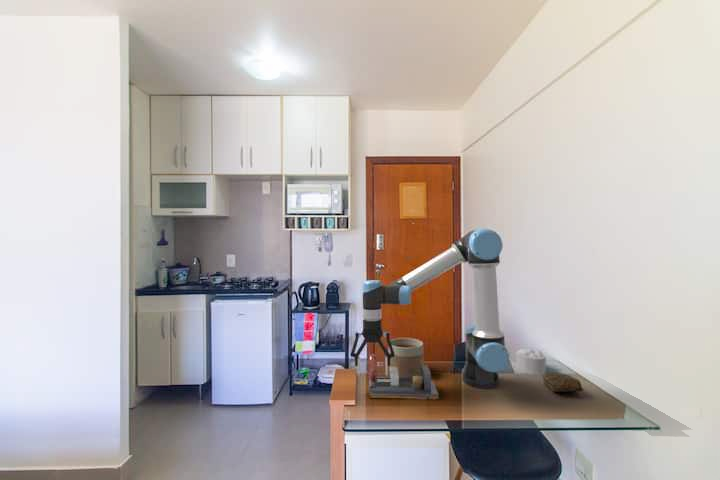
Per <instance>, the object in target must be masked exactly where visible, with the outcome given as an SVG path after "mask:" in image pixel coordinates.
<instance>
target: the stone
mask: <svg viewBox="0 0 720 480" xmlns="http://www.w3.org/2000/svg"><path fill="white" fill-rule="evenodd" d="M541 376H542V379H543V383H544V384H545V386H547V387H548V389H551V391H553V392H554V393H555V392H557V393H559V392H563V393H565V392H582V391H584V389H583V387H582V384H581V381H580V380H579V379H578V378H575V377H573V376H571V375H569V374H563V373H558V372H557V373H556V372H546V374H543V375H541Z"/></svg>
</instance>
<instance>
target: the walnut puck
mask: <svg viewBox="0 0 720 480" xmlns="http://www.w3.org/2000/svg"><path fill="white" fill-rule="evenodd" d="M412 380H413V387H414V388H416V389H421V388H423V377H421V376H413V378H412Z"/></svg>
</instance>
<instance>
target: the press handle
mask: <svg viewBox="0 0 720 480" xmlns="http://www.w3.org/2000/svg"><path fill="white" fill-rule="evenodd" d="M368 377H369V378H368V381H369V382H368V383H369V388H370V387H399V374H398V368H397V367H390V372H389V377H390V379H377V377H378V355H377V354H374V353H372V354H371V353H370V354H368Z"/></svg>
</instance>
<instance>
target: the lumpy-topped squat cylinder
mask: <svg viewBox="0 0 720 480" xmlns="http://www.w3.org/2000/svg"><path fill="white" fill-rule="evenodd" d="M515 356H516V357H515V358H516V360H515V363H516V367H517V368H516V369H519V370H521V371H523V372H525V373H527V374H531V375H532V374H533V375H537V376H538V375H539V376H542V375H543V374H546V373H547V360H546V359H547V358H546V355H544V354H543V352H542V351H541V350H539V349H537V350H533V349H531V348H522V349H520V350H519V349H518V350H516V352H515Z"/></svg>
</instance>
